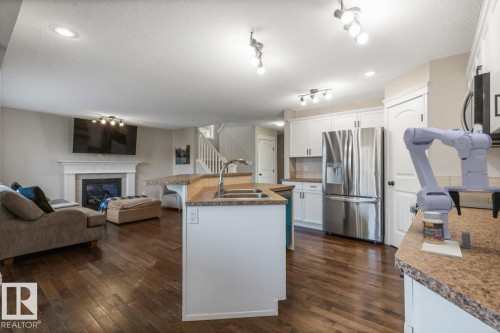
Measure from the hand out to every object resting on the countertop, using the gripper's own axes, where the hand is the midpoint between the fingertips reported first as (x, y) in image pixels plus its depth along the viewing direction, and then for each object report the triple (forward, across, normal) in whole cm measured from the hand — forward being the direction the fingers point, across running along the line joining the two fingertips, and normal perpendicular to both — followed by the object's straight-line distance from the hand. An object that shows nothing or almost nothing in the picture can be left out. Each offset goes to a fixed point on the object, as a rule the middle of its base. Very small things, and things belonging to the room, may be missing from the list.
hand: (476, 216), depth 68 cm
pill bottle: (+10, -11, +1) cm, 15 cm away
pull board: (+10, -7, -3) cm, 13 cm away
